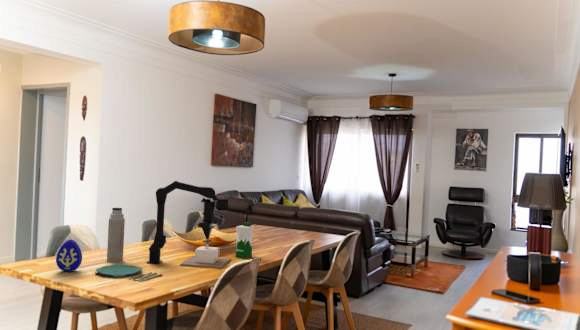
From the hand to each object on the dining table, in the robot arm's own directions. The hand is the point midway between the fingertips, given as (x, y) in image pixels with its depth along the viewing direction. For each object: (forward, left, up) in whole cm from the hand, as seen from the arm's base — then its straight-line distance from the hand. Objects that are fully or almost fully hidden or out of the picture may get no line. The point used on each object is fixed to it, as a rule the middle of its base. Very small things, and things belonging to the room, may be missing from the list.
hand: (207, 239), depth 253 cm
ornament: (-38, +56, -13) cm, 69 cm away
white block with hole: (0, 0, -13) cm, 13 cm away
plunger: (0, 0, -8) cm, 8 cm away
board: (0, 0, -13) cm, 13 cm away
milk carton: (+22, -16, -13) cm, 30 cm away
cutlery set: (-36, +28, -14) cm, 48 cm away
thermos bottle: (-10, +47, -13) cm, 50 cm away
